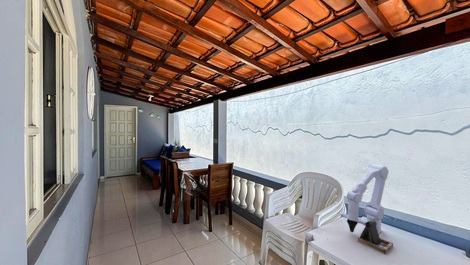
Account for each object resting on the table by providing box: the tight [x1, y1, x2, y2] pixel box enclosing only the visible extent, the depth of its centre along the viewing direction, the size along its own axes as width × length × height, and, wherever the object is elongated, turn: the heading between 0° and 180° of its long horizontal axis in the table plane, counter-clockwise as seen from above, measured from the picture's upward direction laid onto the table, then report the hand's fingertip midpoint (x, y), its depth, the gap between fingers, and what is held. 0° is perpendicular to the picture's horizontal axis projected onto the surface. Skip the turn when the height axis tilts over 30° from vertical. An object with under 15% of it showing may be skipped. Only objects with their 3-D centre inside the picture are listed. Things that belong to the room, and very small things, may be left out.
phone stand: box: [358, 220, 382, 246], centre depth 116 cm, size 9×6×12 cm, turn 25°
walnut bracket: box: [357, 234, 394, 255], centre depth 113 cm, size 12×14×2 cm
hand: (351, 231), depth 123 cm, fingers closed
